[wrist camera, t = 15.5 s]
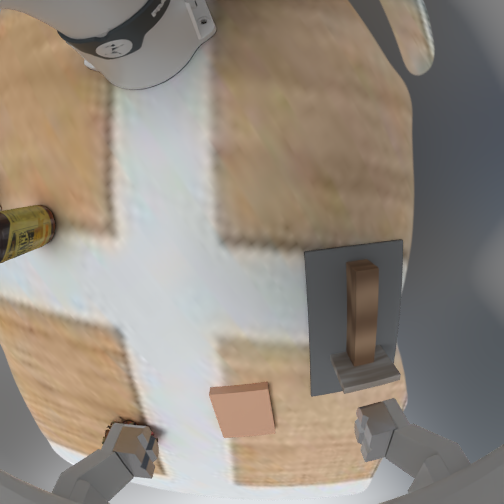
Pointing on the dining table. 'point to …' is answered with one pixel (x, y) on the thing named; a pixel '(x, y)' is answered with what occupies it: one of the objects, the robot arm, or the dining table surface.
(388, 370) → the wooden post on base
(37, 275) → the dining table surface
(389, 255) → the mat
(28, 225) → the sauce bottle
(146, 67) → the robot arm
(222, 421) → the tile
